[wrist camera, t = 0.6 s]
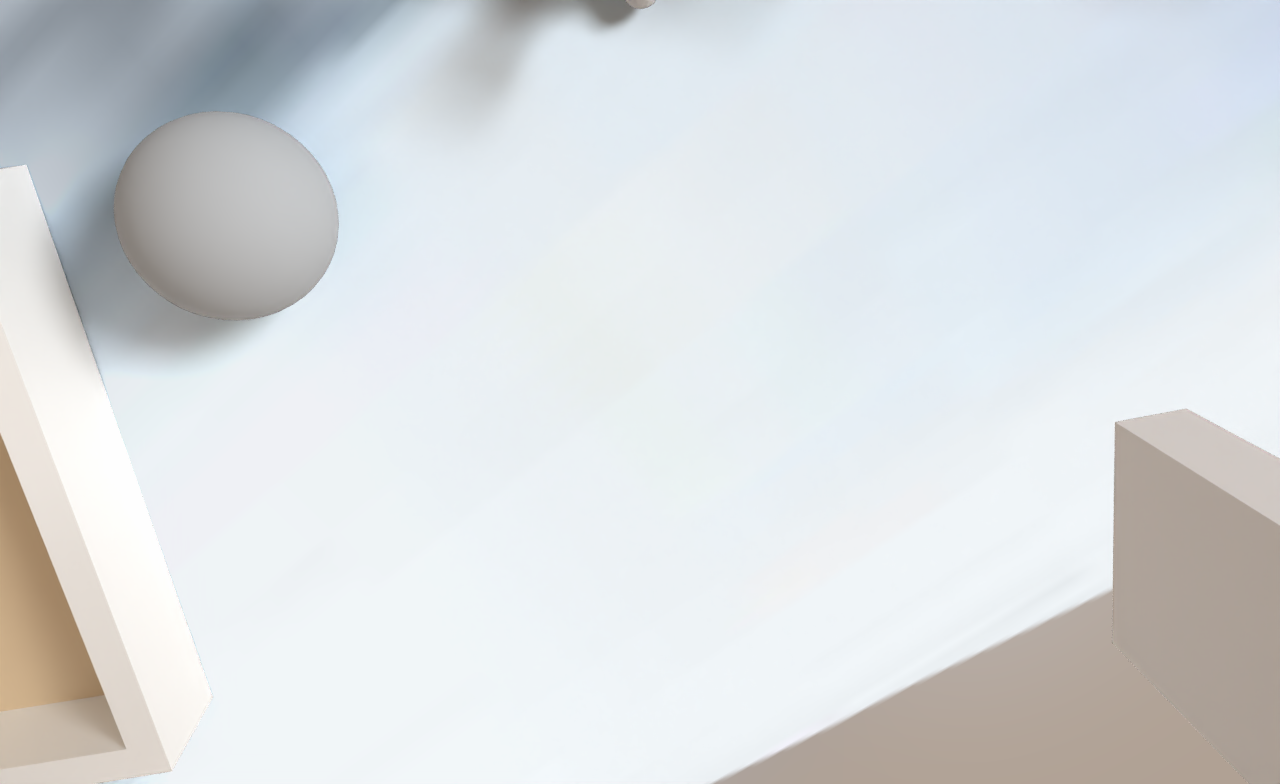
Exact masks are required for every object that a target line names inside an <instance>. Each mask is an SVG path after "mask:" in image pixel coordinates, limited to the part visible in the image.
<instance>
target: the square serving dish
mask: <svg viewBox="0 0 1280 784" xmlns="http://www.w3.org/2000/svg"><path fill="white" fill-rule="evenodd" d="M212 698H213V696H212V693H211V690H210V687H209V684H208V682H207V679H206V676H205V673H204V670H203V667H202V665H201V662H200V659H199V656H198V653H197V650H196V647H195V645H194V642H193V639H192V636H191V633H190V630H189V627H188V625H187V622H186V619H185V616H184V613H183V610H182V607H181V605H180V602H179V599H178V596H177V593H176V590H175V587H174V585H173V582H172V579H171V576H170V573H169V570H168V567H167V565H166V562H165V559H164V556H163V553H162V550H161V548H160V545H159V542H158V539H157V536H156V533H155V530H154V528H153V525H152V522H151V519H150V516H149V513H148V510H147V508H146V505H145V502H144V499H143V496H142V493H141V490H140V488H139V485H138V482H137V479H136V476H135V473H134V470H133V468H132V465H131V462H130V459H129V456H128V453H127V451H126V448H125V445H124V442H123V439H122V436H121V433H120V431H119V428H118V425H117V422H116V419H115V416H114V413H113V411H112V408H111V405H110V402H109V399H108V396H107V393H106V391H105V388H104V385H103V382H102V379H101V376H100V373H99V371H98V368H97V365H96V362H95V359H94V356H93V354H92V351H91V348H90V345H89V342H88V339H87V336H86V334H85V331H84V328H83V325H82V322H81V319H80V316H79V314H78V311H77V308H76V305H75V302H74V299H73V296H72V294H71V291H70V288H69V285H68V282H67V279H66V276H65V274H64V271H63V268H62V265H61V262H60V259H59V256H58V254H57V251H56V248H55V245H54V242H53V239H52V237H51V234H50V231H49V228H48V225H47V222H46V219H45V217H44V214H43V211H42V208H41V205H40V202H39V199H38V197H37V194H36V191H35V188H34V185H33V182H32V179H31V177H30V174H29V171H28V168H27V165H21V166H14V167H7V168H0V784H97V783H103V782H109V781H115V780H121V779H128V778H134V777H140V776H146V775H152V774H158V773H164V772H171V771H173V769H174V767H175V765H176V763H177V762H178V760H179V758H180V756H181V754H182V753H183V751H184V749H185V747H186V745H187V743H188V742H189V740H190V738H191V736H192V734H193V733H194V731H195V729H196V727H197V725H198V724H199V722H200V720H201V718H202V716H203V715H204V713H205V711H206V709H207V707H208V705H209V704H210V702H211V700H212Z"/></svg>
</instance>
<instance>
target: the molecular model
mask: <svg viewBox="0 0 1280 784" xmlns="http://www.w3.org/2000/svg"><path fill="white" fill-rule="evenodd" d="M625 1H626V2H627V3H628V4H629V5H630V6H632V7H634V8H638V9H643V8H647V7H649V6H651V5H652V4H654V3H655V1H656V0H625Z"/></svg>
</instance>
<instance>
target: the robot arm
mask: <svg viewBox="0 0 1280 784" xmlns="http://www.w3.org/2000/svg"><path fill="white" fill-rule="evenodd" d="M1112 617H1113V619H1112V622H1113V623H1112V644H1113V645H1114V646H1115V647H1116V648H1117V649H1118V650H1120V652H1121V653H1122V654H1123V655H1124V656H1125V657H1126V658H1127V659H1128V660H1129V661H1130V662H1131V663H1132V664H1133V665H1134V666H1135V667H1136V668H1137V669H1138V670H1139V671H1140V672H1141V673H1142V674H1143V675H1144V676H1145V677H1146V678H1147V679H1148V681H1149V682H1150V683H1151V684H1152V685H1153V686H1154V687H1155V688H1156V689H1157V690H1158V691H1159V692H1160V693H1161V694H1162V695H1163V696H1164V697H1165V698H1166V699H1167V700H1168V701H1169V702H1170V703H1171V704H1172V705H1173V706H1174V707H1175V708H1176V709H1177V710H1178V711H1179V712H1180V714H1182V716H1183V717H1184V718H1185V719H1186V720H1187V721H1188V722H1189V723H1190V724H1191V725H1192V726H1193V727H1194V728H1195V729H1196V730H1197V731H1198V732H1199V733H1200V734H1201V735H1202V736H1203V737H1204V738H1205V739H1206V740H1207V741H1208V742H1209V743H1210V745H1211V746H1212V747H1213V748H1214V749H1215V750H1216V751H1217V752H1218V753H1219V754H1220V755H1221V756H1222V757H1223V758H1224V759H1225V760H1226V761H1227V762H1228V763H1229V764H1230V765H1231V766H1232V767H1233V768H1234V769H1235V770H1236V771H1237V772H1238V773H1239V774H1240V775H1241V776H1242V777H1243V779H1245V781H1246V782H1248V784H1280V459H1279V458H1278V457H1276V456H1274V455H1272V454H1270V453H1268V452H1266V451H1264V450H1263V449H1261V448H1259V447H1257V446H1255V445H1253V444H1251V443H1250V442H1248V441H1246V440H1244V439H1242V438H1240V437H1238V436H1236V435H1235V434H1233V433H1231V432H1229V431H1227V430H1225V429H1223V428H1221V427H1220V426H1218V425H1216V424H1214V423H1212V422H1210V421H1208V420H1207V419H1205V418H1203V417H1201V416H1199V415H1197V414H1195V413H1193V412H1192V411H1190V410H1188V409H1182V410H1176V411H1171V412H1166V413H1160V414H1155V415H1150V416H1144V417H1139V418H1134V419H1128V420H1123V421H1118V422H1115V458H1114V537H1113V616H1112Z"/></svg>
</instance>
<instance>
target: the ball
mask: <svg viewBox="0 0 1280 784" xmlns="http://www.w3.org/2000/svg"><path fill="white" fill-rule="evenodd" d="M114 218H115V226H116V230H117V234H118V238H119V240H120V243H121V245H122V248H123V250H124V252H125V254H126V256H127V258H128V260H129V262H130V263H131V265H132V266H133V268H134V269H135V270H136V272H137V273H138V274H139V276H140V277H141V278H142V279H143V280H144V281H145V282H146V283H147V284H148V285H149V286H150V287H151V288H152V289H153V290H154V291H155V292H157V293H158V294H159V295H160V296H162V297H163V298H165V299H166V300H168V301H169V302H171V303H173V304H174V305H176V306H178V307H180V308H182V309H184V310H187V311H189V312H192V313H194V314H198V315H202V316H205V317H209V318H215V319H221V320H248V319H255V318H259V317H264V316H268V315H271V314H274V313H277V312H280V311H281V310H283V309H285V308H287V307H289V306H291V305H293V304H294V303H296V302H297V301H299V300H300V299H302V298H303V297H304V296H306V295H307V294H308V293H309V292H310V291H311V290H312V289H313V288H314V287H315V285H316V284H317V283H318V282H319V280H320V279H321V278H322V276H323V275H324V273H325V272H326V270H327V268H328V266H329V265H330V262H331V260H332V257H333V255H334V252H335V248H336V244H337V238H338V228H339V220H338V209H337V203H336V199H335V195H334V192H333V189H332V186H331V184H330V182H329V180H328V178H327V175H326V174H325V172H324V171H323V169H322V167H321V166H320V164H319V163H318V161H317V160H316V159H315V158H314V156H313V155H312V154H311V153H310V152H309V151H308V150H307V149H306V148H305V147H304V146H303V145H302V144H301V143H300V142H299V141H298V140H296V139H295V138H294V137H293V136H291V135H290V134H288V133H287V132H285V131H283V130H282V129H280V128H279V127H277V126H275V125H273V124H271V123H269V122H266V121H264V120H262V119H259V118H256V117H253V116H250V115H245V114H240V113H234V112H219V111H213V112H201V113H196V114H191V115H187V116H184V117H181V118H178V119H175V120H173V121H170V122H168V123H166V124H165V125H163V126H161V127H159V128H157V129H156V130H155V131H153V132H152V133H151V134H150V135H148V136H147V137H146V138H145V139H144V140H143V141H142V142H141V143H140V144H139V145H138V146H137V147H136V148H135V149H134V150H133V152H132V153H131V155H130V156H129V157H128V159H127V161H126V163H125V165H124V167H123V169H122V171H121V173H120V176H119V179H118V182H117V185H116V190H115V197H114Z"/></svg>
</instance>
